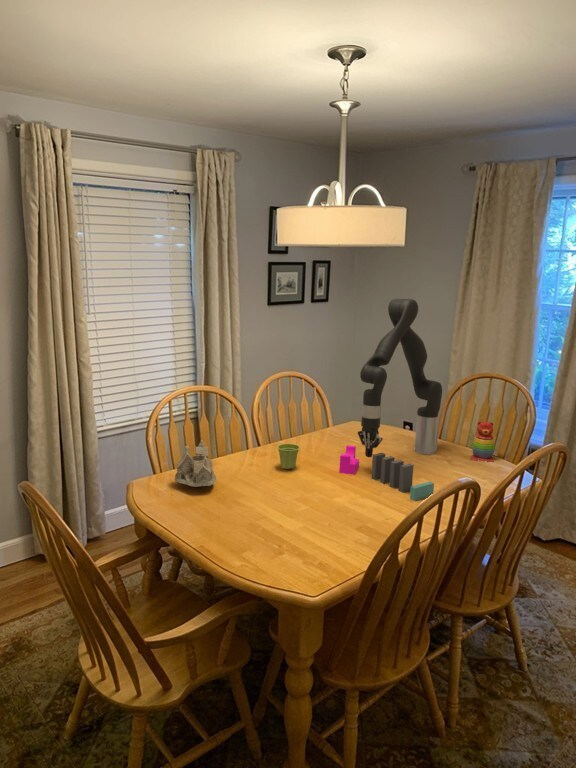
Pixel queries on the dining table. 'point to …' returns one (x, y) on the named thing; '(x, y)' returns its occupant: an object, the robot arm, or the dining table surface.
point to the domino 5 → (421, 491)
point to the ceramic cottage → (195, 468)
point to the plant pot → (288, 455)
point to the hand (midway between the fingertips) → (368, 456)
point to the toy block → (349, 461)
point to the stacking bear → (483, 443)
